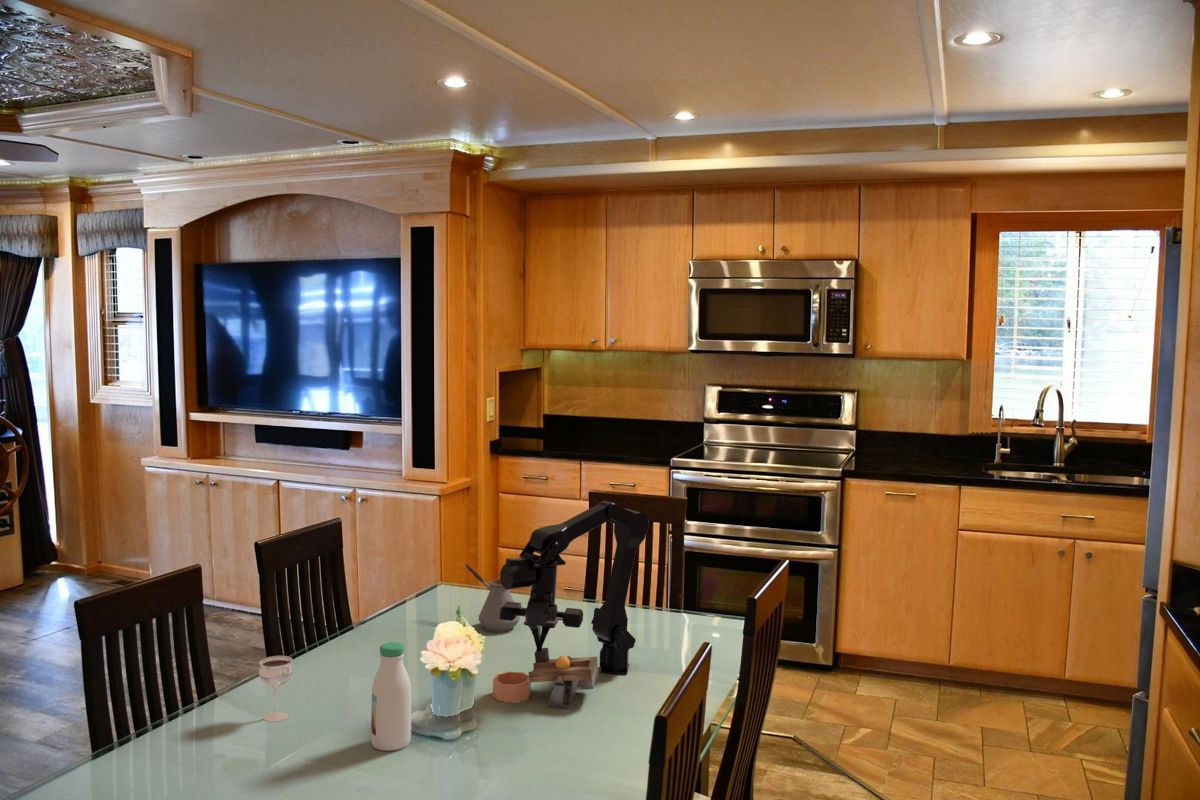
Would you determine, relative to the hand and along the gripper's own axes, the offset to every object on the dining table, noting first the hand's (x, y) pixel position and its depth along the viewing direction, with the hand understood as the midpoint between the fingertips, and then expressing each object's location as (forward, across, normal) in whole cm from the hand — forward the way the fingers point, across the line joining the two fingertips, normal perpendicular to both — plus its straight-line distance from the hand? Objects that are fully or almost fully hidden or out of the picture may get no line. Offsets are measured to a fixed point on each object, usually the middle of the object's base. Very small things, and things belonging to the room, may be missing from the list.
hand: (539, 650), depth 212 cm
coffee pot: (+10, -22, +44) cm, 50 cm away
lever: (+5, +7, -3) cm, 9 cm away
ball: (0, +6, -6) cm, 9 cm away
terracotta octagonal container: (+9, -5, -6) cm, 12 cm away
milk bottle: (+10, -23, -33) cm, 42 cm away
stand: (+8, +7, -3) cm, 11 cm away
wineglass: (+12, -51, -26) cm, 58 cm away
